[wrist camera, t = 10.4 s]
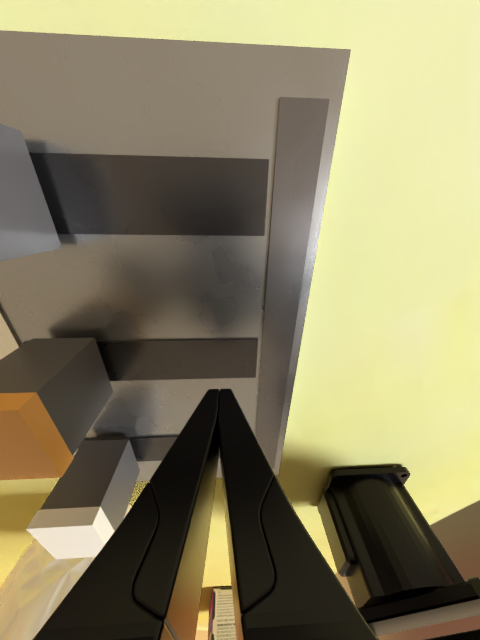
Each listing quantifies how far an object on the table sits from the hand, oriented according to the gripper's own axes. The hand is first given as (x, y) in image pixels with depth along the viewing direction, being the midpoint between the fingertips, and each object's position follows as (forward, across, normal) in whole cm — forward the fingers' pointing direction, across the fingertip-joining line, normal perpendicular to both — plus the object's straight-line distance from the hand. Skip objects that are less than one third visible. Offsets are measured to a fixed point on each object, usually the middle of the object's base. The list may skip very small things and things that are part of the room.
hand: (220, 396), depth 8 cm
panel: (+4, +3, 0) cm, 5 cm away
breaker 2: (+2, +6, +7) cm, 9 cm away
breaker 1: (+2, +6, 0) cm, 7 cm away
